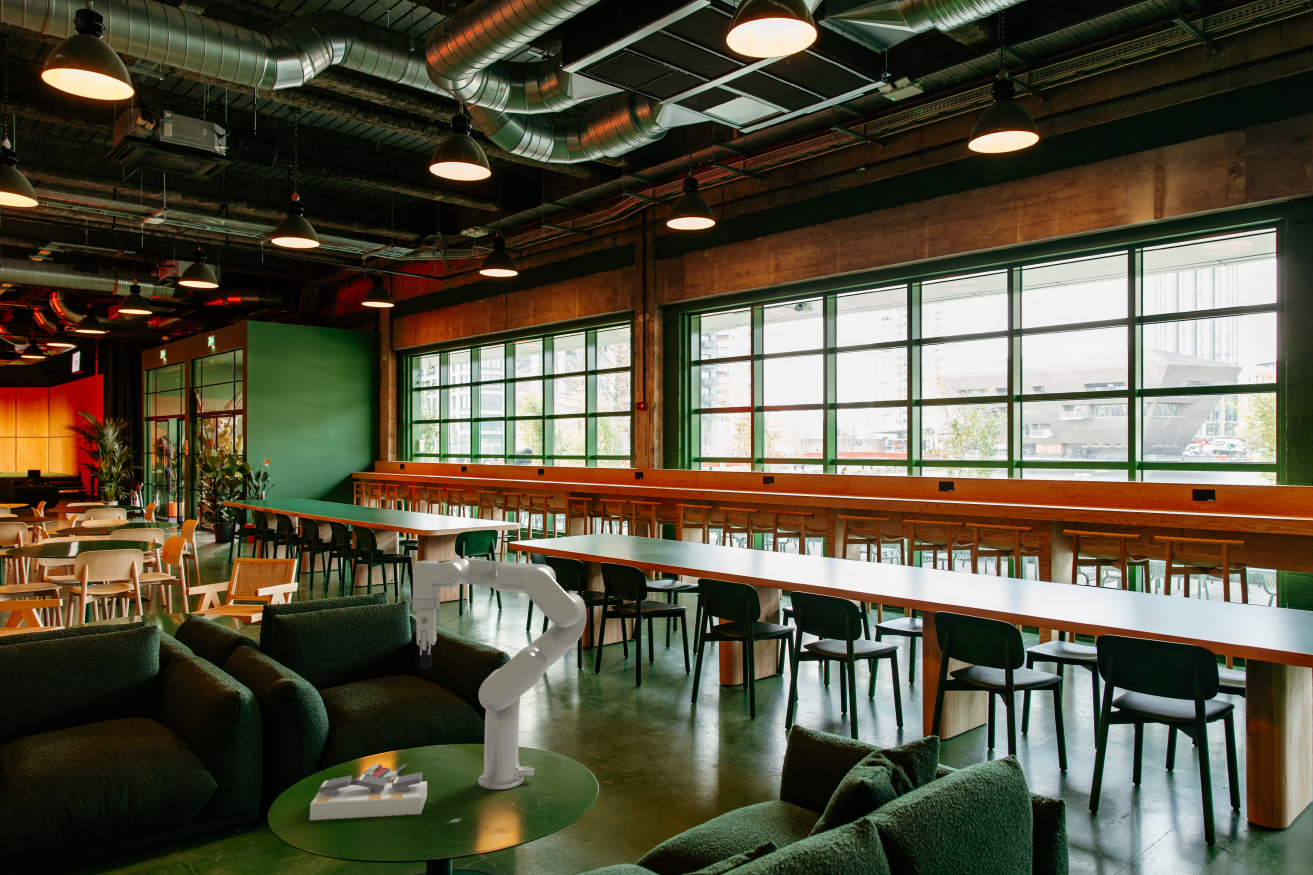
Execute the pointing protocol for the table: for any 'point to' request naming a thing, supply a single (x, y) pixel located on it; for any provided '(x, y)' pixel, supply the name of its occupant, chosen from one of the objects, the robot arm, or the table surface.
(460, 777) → the table surface
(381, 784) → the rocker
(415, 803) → the switch unit
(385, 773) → the walkie-talkie
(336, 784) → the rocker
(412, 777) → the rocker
